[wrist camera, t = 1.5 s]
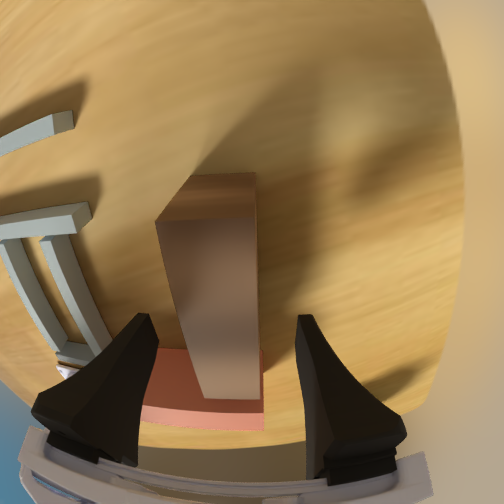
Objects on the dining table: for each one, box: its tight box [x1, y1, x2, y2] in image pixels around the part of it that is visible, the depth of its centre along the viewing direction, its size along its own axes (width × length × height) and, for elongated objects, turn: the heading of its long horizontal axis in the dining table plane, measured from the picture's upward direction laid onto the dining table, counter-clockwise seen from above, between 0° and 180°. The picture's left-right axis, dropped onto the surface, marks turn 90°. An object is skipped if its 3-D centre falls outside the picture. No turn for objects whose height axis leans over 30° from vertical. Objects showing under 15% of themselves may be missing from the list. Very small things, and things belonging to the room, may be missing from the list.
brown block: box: [155, 173, 260, 399], centre depth 15 cm, size 12×4×6 cm, turn 2°
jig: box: [0, 110, 113, 366], centre depth 17 cm, size 21×12×2 cm, turn 2°
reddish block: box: [140, 348, 264, 431], centre depth 20 cm, size 4×12×6 cm, turn 92°
